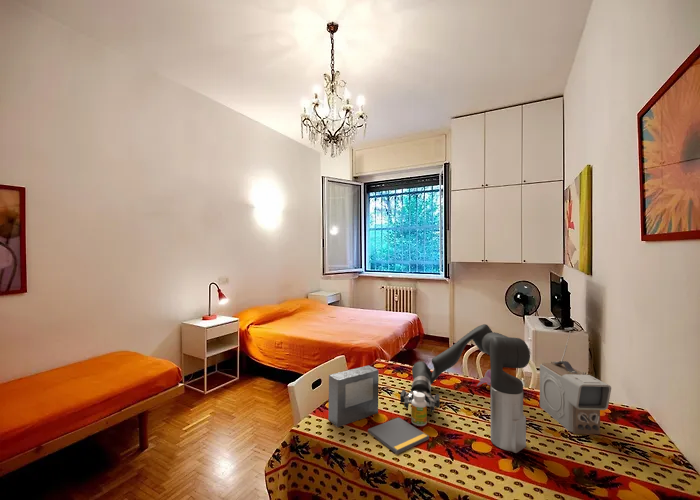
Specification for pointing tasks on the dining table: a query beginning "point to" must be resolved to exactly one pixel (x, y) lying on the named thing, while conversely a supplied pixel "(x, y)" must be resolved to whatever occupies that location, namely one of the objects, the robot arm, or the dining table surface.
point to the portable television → (572, 396)
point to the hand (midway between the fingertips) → (418, 407)
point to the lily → (486, 378)
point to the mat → (398, 435)
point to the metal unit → (353, 395)
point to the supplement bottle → (419, 409)
